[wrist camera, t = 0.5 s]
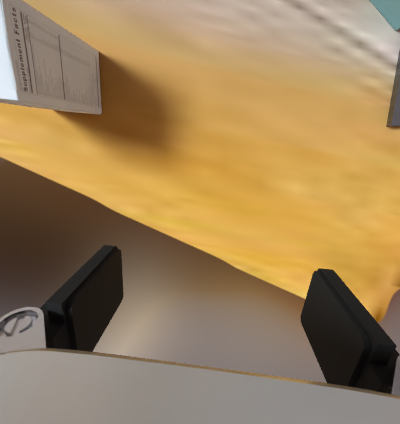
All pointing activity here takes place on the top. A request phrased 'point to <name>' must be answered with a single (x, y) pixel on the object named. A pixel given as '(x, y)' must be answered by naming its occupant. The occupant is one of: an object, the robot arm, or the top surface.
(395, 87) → the shaft stand
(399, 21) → the collar
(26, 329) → the robot arm
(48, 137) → the top surface
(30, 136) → the top surface
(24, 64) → the supplement box
